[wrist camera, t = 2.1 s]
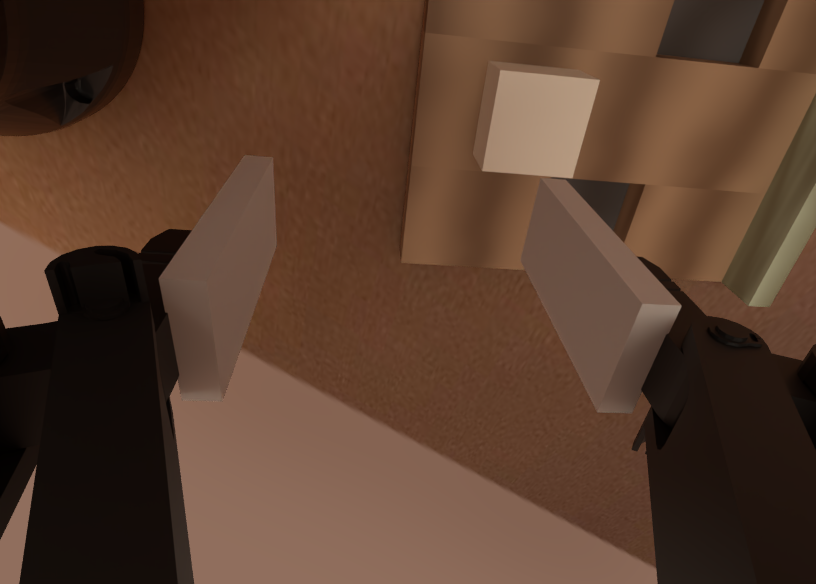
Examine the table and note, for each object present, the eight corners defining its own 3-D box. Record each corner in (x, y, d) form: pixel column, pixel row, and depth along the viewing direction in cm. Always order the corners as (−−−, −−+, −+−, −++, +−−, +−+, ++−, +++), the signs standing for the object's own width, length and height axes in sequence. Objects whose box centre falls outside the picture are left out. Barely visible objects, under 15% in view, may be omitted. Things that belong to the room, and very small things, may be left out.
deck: (399, 248, 35) (403, 287, 30) (437, -124, 24) (451, -144, 20) (724, 268, 37) (769, 307, 33) (888, -61, 27) (985, -68, 22)
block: (472, 153, 29) (482, 171, 27) (488, 60, 27) (500, 69, 24) (555, 160, 30) (572, 178, 27) (579, 69, 27) (600, 80, 25)
